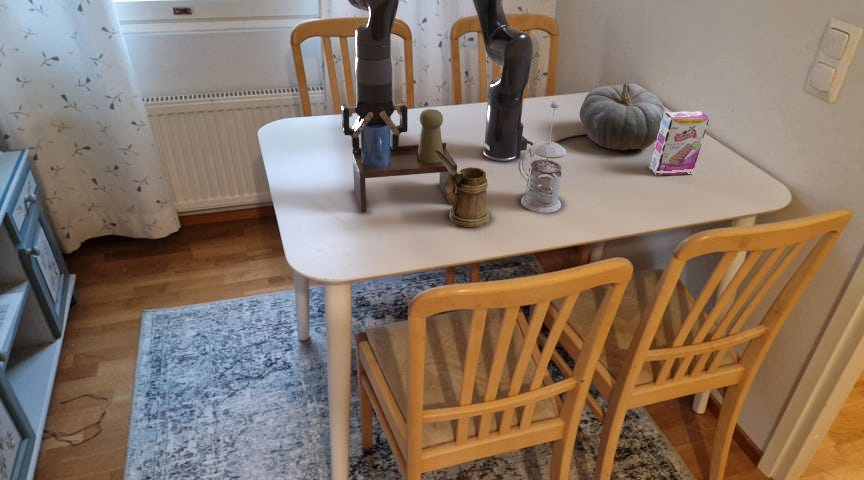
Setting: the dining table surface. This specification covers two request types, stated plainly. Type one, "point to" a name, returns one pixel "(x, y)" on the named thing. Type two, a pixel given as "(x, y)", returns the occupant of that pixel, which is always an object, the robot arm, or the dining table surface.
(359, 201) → the brown wooden shelf
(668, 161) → the candy bar box
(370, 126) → the cup
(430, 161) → the olive green peg figure
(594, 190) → the dining table surface
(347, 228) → the dining table surface
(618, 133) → the gourd
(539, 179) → the french press
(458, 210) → the wooden mug
